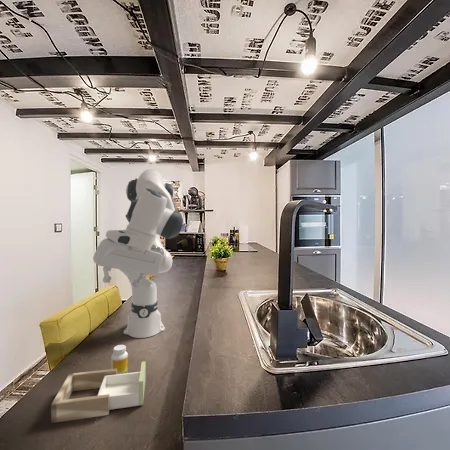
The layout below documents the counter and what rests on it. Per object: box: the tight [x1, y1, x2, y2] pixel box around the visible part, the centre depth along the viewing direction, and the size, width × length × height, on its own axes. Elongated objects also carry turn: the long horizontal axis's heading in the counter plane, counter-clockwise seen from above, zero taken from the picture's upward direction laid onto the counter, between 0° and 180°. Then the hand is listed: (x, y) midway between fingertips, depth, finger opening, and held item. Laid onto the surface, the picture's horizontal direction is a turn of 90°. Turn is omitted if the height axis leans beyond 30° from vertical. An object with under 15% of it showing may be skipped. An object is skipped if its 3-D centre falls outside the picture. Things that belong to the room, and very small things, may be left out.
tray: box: [97, 360, 147, 411], centre depth 80 cm, size 11×12×7 cm
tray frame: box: [50, 368, 117, 424], centre depth 78 cm, size 14×14×5 cm
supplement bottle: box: [110, 344, 129, 374], centre depth 91 cm, size 5×5×10 cm
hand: (121, 284), depth 79 cm, fingers open, 8 cm apart
